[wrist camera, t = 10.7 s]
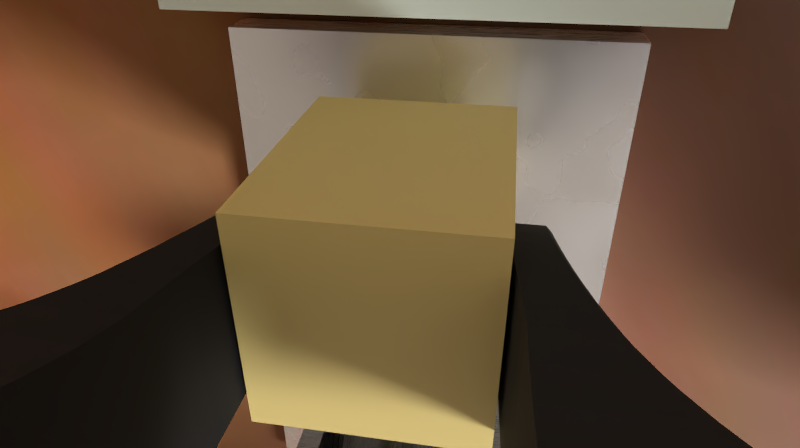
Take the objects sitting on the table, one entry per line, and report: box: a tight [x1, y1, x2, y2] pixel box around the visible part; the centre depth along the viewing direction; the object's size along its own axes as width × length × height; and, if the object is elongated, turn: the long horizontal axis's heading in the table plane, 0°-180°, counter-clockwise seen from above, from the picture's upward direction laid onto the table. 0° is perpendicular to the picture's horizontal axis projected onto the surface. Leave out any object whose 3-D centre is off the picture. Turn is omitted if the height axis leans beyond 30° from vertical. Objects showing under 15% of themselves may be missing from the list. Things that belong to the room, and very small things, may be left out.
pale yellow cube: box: [215, 96, 517, 448], centre depth 11 cm, size 4×4×5 cm
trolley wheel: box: [228, 18, 651, 448], centre depth 15 cm, size 9×15×7 cm, turn 0°
